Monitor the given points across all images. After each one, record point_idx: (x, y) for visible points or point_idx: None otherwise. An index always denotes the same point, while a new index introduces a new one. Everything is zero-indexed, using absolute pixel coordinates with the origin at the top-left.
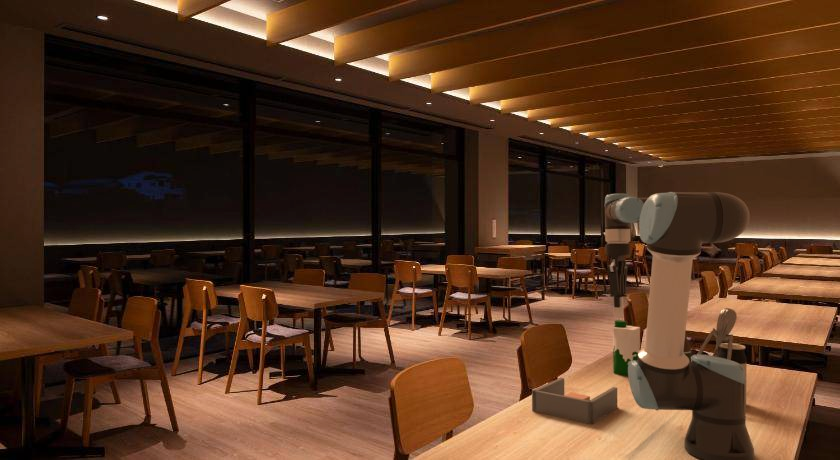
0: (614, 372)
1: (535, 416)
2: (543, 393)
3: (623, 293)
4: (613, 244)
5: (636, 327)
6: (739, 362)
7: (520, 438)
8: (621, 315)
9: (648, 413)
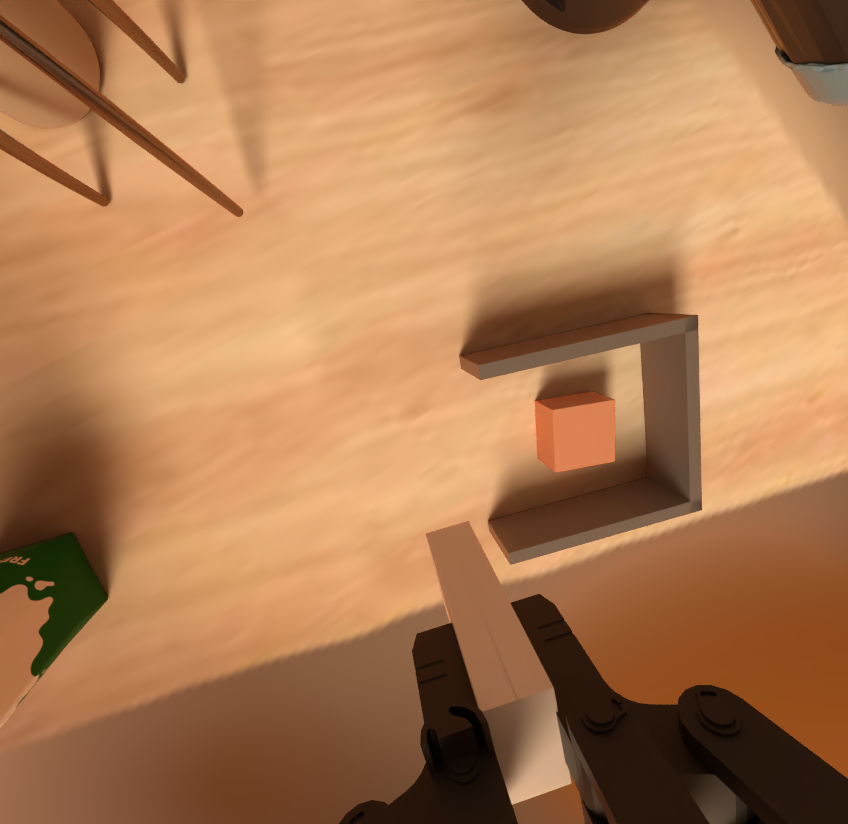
0: (100, 605)
1: None
2: (700, 473)
3: (463, 788)
4: None
5: None
6: None
7: (837, 363)
8: (476, 537)
9: (437, 253)
